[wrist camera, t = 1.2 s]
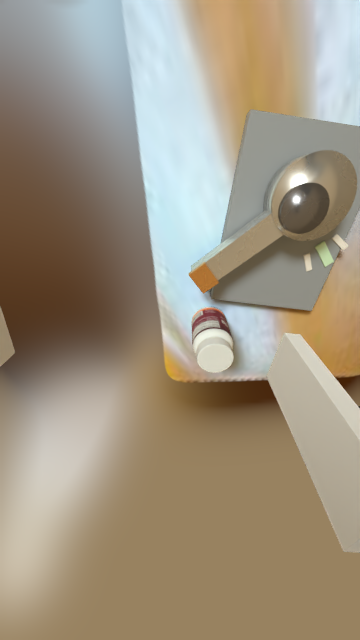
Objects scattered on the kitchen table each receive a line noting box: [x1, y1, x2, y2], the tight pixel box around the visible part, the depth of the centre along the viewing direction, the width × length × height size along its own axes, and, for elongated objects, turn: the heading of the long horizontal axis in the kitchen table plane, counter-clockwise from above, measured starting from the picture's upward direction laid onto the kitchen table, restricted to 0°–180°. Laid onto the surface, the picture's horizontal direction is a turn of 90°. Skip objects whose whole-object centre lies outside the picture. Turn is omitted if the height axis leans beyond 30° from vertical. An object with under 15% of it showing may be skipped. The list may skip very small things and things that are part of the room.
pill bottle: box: [192, 307, 234, 373], centre depth 28 cm, size 5×5×8 cm
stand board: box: [210, 110, 360, 311], centre depth 25 cm, size 18×14×2 cm
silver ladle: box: [189, 150, 357, 293], centre depth 22 cm, size 16×7×4 cm, turn 128°
